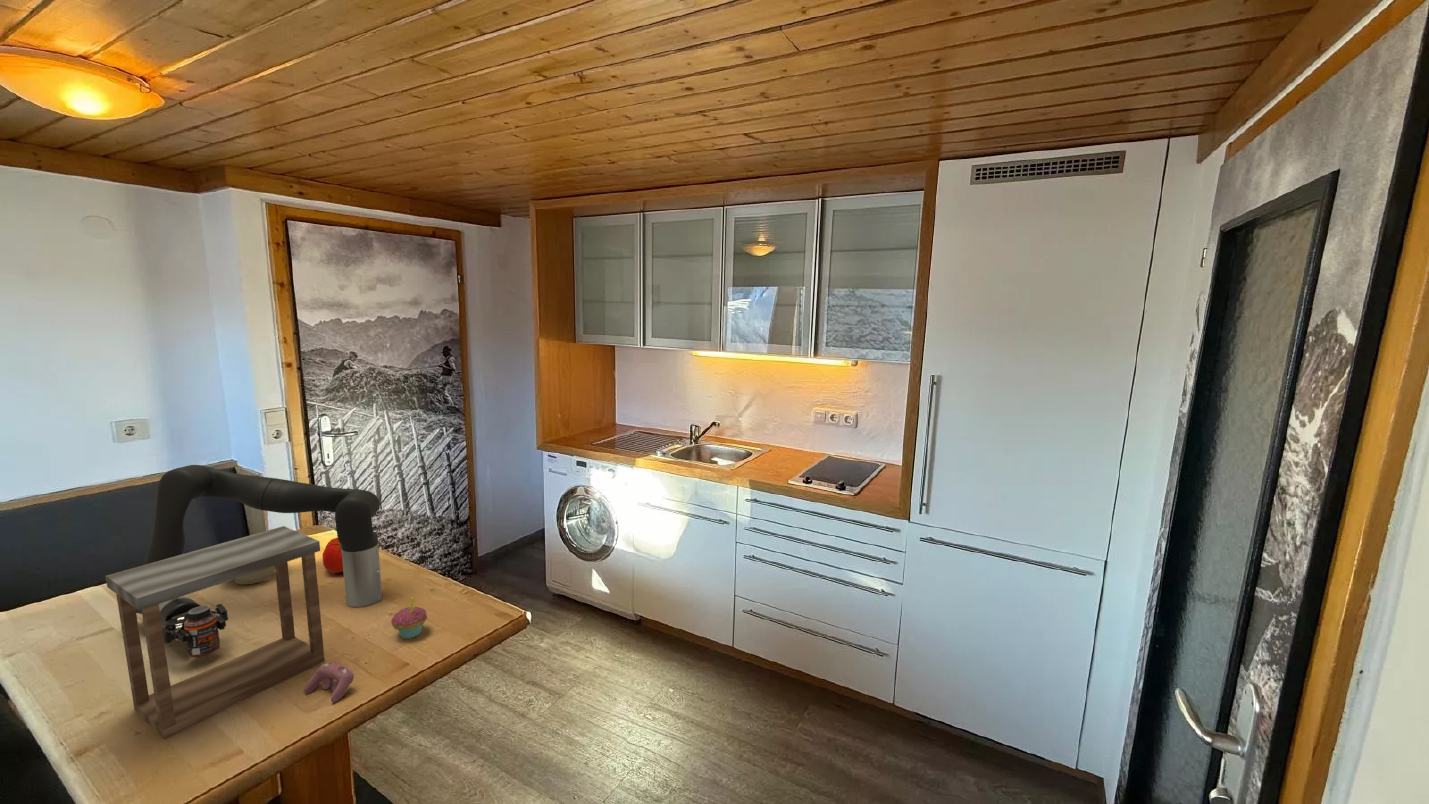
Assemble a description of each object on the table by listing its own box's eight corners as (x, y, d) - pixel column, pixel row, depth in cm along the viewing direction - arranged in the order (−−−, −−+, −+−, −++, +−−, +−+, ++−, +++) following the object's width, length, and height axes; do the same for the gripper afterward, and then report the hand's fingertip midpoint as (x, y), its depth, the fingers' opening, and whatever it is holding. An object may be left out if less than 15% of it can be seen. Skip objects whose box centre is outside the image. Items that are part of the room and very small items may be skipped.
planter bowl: (260, 591, 172) (256, 558, 170) (208, 589, 172) (203, 556, 170) (299, 567, 188) (296, 536, 186) (251, 565, 188) (247, 535, 186)
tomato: (319, 568, 188) (317, 538, 186) (365, 556, 197) (362, 528, 195) (328, 583, 178) (325, 552, 176) (375, 570, 187) (373, 540, 186)
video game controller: (350, 700, 129) (360, 667, 131) (332, 704, 125) (343, 670, 127) (318, 690, 132) (329, 658, 134) (300, 693, 128) (311, 660, 130)
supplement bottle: (201, 660, 135) (194, 617, 133) (181, 657, 136) (174, 614, 134) (226, 646, 141) (221, 604, 139) (208, 642, 142) (201, 601, 140)
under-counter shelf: (127, 712, 121) (105, 575, 116) (295, 638, 149) (283, 526, 144) (158, 743, 113) (136, 598, 108) (330, 659, 141) (319, 541, 135)
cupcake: (435, 630, 155) (432, 589, 153) (406, 646, 147) (404, 604, 145) (413, 622, 158) (411, 582, 156) (385, 637, 151) (382, 596, 149)
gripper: (136, 612, 138) (164, 632, 130) (210, 587, 150) (240, 604, 142) (141, 639, 139) (169, 662, 131) (214, 612, 151) (243, 631, 143)
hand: (205, 632), depth 137 cm, fingers closed on supplement bottle, 6 cm apart
